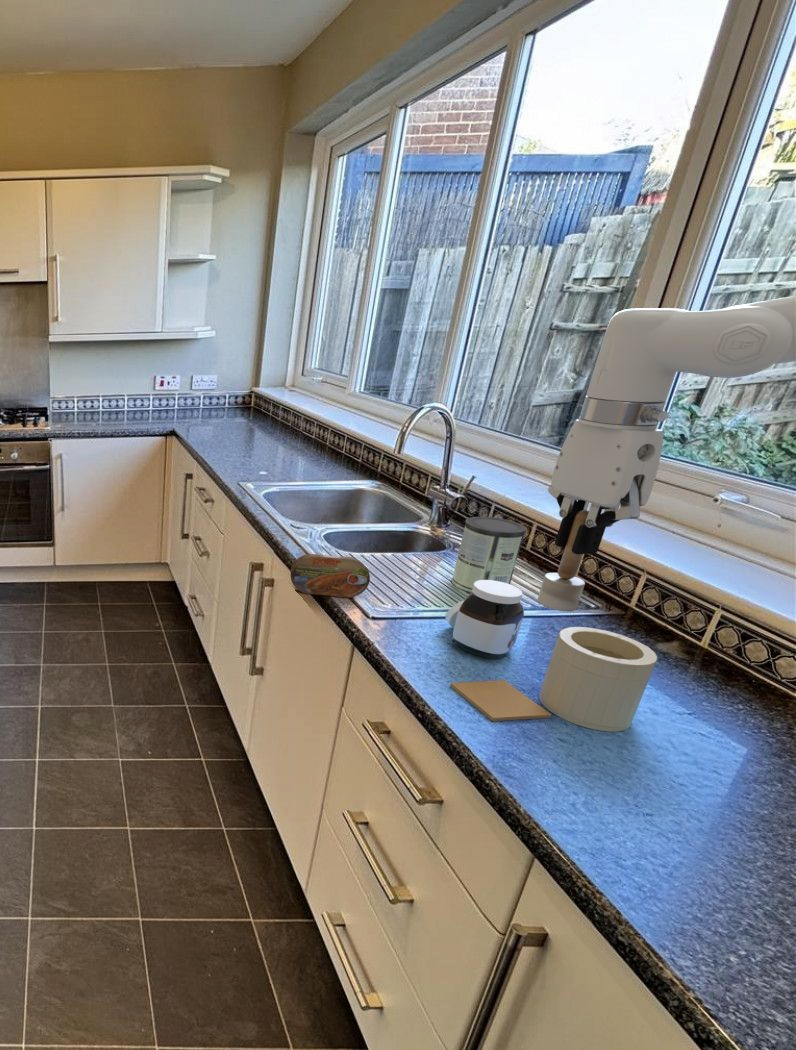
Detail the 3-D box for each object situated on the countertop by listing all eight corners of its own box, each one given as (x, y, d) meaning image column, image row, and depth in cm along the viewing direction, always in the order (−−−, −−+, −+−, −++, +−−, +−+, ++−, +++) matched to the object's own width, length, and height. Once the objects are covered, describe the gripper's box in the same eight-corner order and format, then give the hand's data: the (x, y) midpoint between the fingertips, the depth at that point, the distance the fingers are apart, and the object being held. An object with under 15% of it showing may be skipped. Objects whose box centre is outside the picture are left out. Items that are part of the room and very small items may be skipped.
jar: (584, 686, 97) (606, 625, 93) (651, 729, 87) (679, 662, 83) (521, 690, 96) (540, 628, 92) (581, 734, 86) (606, 666, 82)
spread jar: (488, 665, 103) (506, 603, 99) (422, 636, 112) (436, 578, 108) (526, 647, 108) (545, 587, 104) (460, 621, 117) (475, 564, 113)
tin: (288, 591, 130) (293, 555, 127) (287, 585, 133) (292, 549, 130) (366, 600, 126) (373, 562, 123) (363, 594, 129) (371, 557, 126)
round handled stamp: (557, 597, 89) (588, 505, 84) (584, 611, 85) (618, 515, 80) (529, 598, 89) (557, 506, 84) (554, 612, 85) (586, 516, 80)
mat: (503, 682, 98) (504, 679, 98) (550, 717, 90) (551, 714, 90) (449, 686, 98) (450, 682, 97) (492, 721, 89) (493, 718, 89)
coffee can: (466, 572, 138) (482, 513, 133) (517, 589, 130) (536, 526, 125) (440, 582, 134) (455, 521, 128) (492, 600, 125) (510, 535, 120)
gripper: (716, 424, 70) (658, 571, 77) (591, 403, 85) (552, 529, 92) (654, 425, 70) (602, 574, 76) (539, 404, 84) (504, 530, 91)
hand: (575, 548), depth 84 cm, fingers closed on round handled stamp, 2 cm apart
